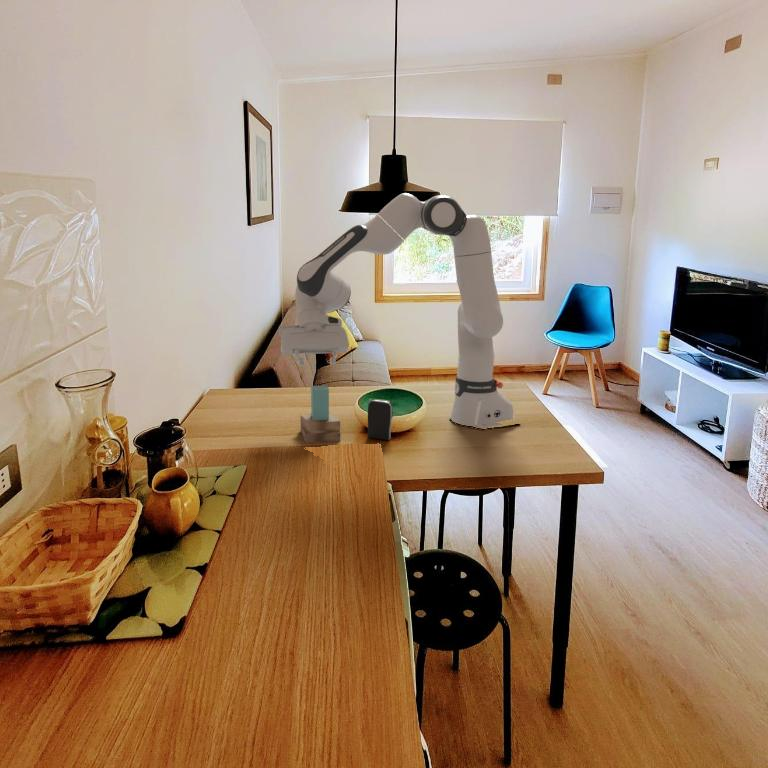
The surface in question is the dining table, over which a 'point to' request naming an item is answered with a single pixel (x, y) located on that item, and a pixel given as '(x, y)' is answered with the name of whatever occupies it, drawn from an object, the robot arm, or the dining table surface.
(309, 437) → the tower base
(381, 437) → the battery
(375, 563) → the dining table surface
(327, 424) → the tower top
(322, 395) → the teal post
